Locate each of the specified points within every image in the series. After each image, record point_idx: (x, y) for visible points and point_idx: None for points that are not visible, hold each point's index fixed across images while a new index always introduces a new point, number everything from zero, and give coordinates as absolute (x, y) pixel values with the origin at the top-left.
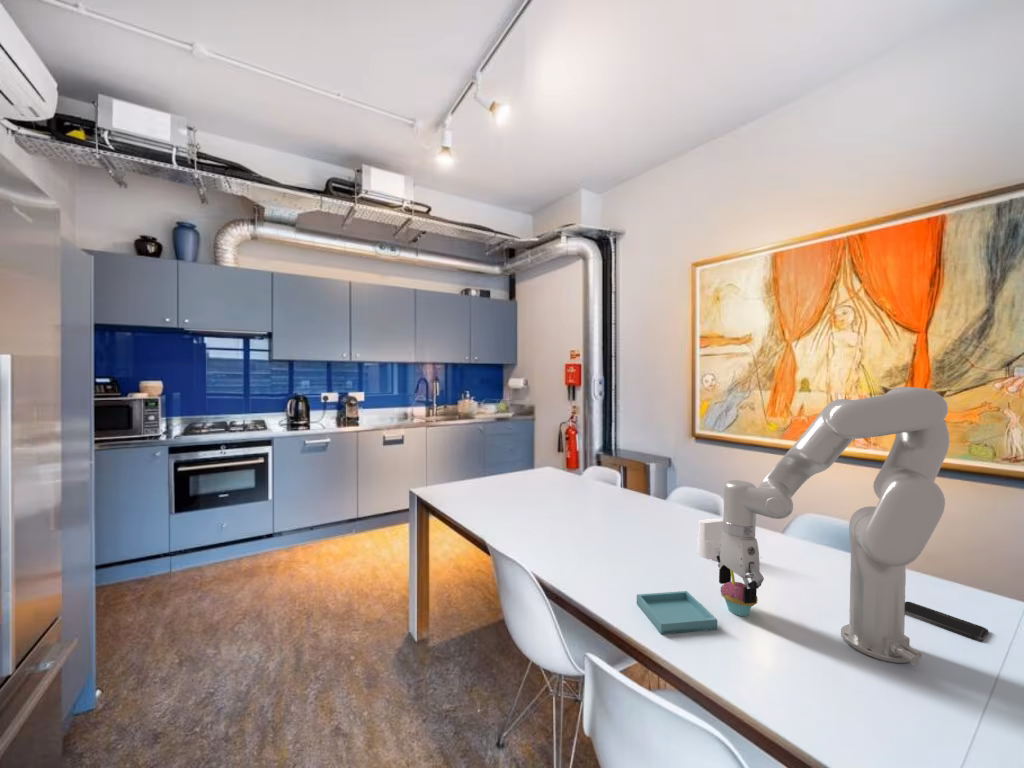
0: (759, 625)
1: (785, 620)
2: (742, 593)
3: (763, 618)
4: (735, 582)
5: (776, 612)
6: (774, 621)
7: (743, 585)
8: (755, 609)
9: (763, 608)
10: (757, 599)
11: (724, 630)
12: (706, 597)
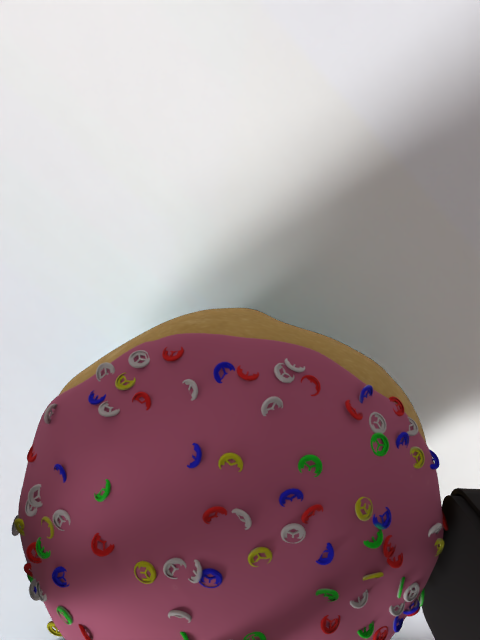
0: (443, 393)
1: (466, 105)
2: (384, 637)
3: (377, 288)
4: (127, 605)
5: (332, 74)
6: (443, 228)
7: (258, 571)
8: (242, 248)
9: (242, 154)
10: (387, 374)
11: (410, 632)
12: (12, 511)
